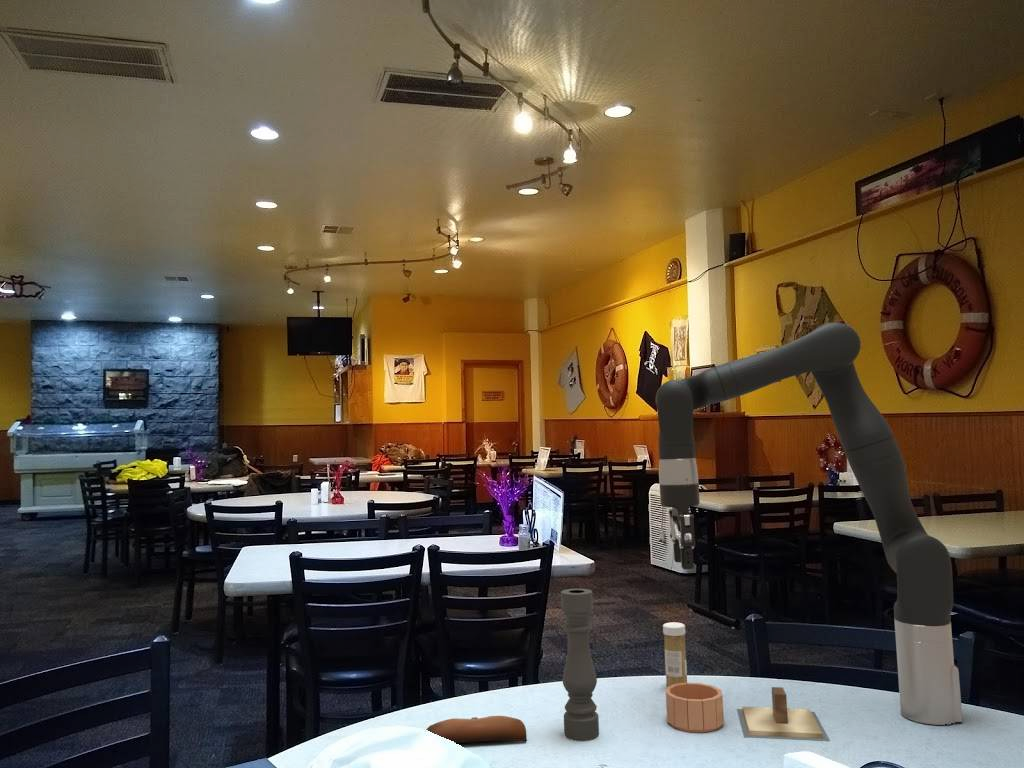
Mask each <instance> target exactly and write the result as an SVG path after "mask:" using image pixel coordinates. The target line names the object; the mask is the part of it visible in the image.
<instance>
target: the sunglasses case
mask: <svg viewBox="0 0 1024 768" xmlns="http://www.w3.org/2000/svg"><path fill="white" fill-rule="evenodd" d="M426 730H428V731H430V732H432V733H434V734H437V735H439V736H441V737H444V738H446V739H449V740H451V741H454V742H456V744H460V743H481V742H487V741H489V742H500V741H501V742H502V741H520V740H521V741H527V729H526V726H525V723H524V721H522V720H521V719H520V718H516V717H511V716H506V715H490V716H484V717H481V718H478V717H474V716H473V717H471V718H450V719H449V718H448V719H444V720H441V721H437V722H435V723H434V724H430V725H429V726H428V727H427V728H426V729H425V731H426ZM527 742H528V741H527Z"/></svg>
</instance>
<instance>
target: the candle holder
mask: <svg viewBox="0 0 1024 768" xmlns="http://www.w3.org/2000/svg"><path fill="white" fill-rule="evenodd" d="M560 600H561V601H560V603H561V604H560V606H561V607H560V608H561V609H560V610H561V611H562V612H563V613H562V614H563V616H564V618H565V620H566V622H565V623H564V624H563V626H562V627H563V630H564V632H565V633H566V634H567V636H566V637H567V654H566V657H565V658H566V659H565V664H564V669H563V675H562V685H563V687H564V690H565V691H566V693H567V696H568V700H567V702H566V704H565V705H564V710H565V713H564V714H563V734H565V735H564V737H565V736H566V737H565V738H567V739H568V738H569V739H568V740H571V739H572V741H575V740H576V741H575V742H586V741H587V742H588V741H593V740H595V739H597V738H599V735H600V728H599V727H600V724H599V713H597V708H598V707H597V704H596V703H595V701H594V700H593V699H592V698H593V696H594V691H595V688H596V687H597V683H598V677H597V674H596V670H595V666H594V662H593V659H592V654H591V651H590V632H591V631H592V630H593V625H592V624H591V623H590V622H589V620H590V617H591V615H592V611H593V609H594V603H593V602H594V600H593V590H591V589H588V588H569V589H568V588H567V589H563V590H561V591H560Z"/></svg>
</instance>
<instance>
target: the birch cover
mask: <svg viewBox="0 0 1024 768" xmlns="http://www.w3.org/2000/svg"><path fill="white" fill-rule="evenodd" d="M787 700H788V698H787V693H786V691H785V689H784V687H780V686H771V702H772V707H767V706H765V707H761V706H742V708H741V709H743V714H744V717H745V721H746V725H747V728H748V732H749V735H756V736H778V737H801V738H823V734H822V732H821V730H820V728H819V726H818V724H817V722H816V720H815V719H814V717H813V715H812V713H811V712H812V711H811V709H809V708H790V707H788V701H787Z"/></svg>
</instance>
